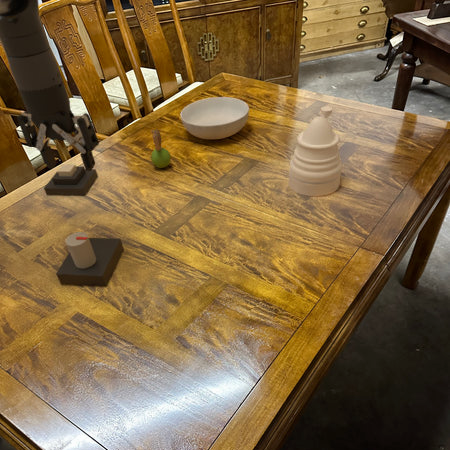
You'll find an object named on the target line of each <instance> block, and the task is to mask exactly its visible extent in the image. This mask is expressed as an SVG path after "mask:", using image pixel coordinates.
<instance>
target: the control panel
mask: <svg viewBox="0 0 450 450" xmlns="http://www.w3.org/2000/svg"><path fill="white" fill-rule="evenodd" d="M88 238H89V241H90V243H91V246H92V248H93V251H94V254H95V256H96V262H95V264H94V265H92V266H91V267H88V268H84V269H81V268H78V267H76V265H75V263H74V261H73V259H72V256H71V254H70V252H69V251H68V253H67V255H66V256H65V258H64V260H63V261H62V262H61V265H60V266H59V268H58V269H57V271H56V273H55V275H56V277H57V279H58V281H59V283H60V285H66V286H67V285H69V286H85V287H86V286H87V287H107V286H108V283H109V281H110V280H111V278H112V276H113V273H114V271H115V269H116V267H117V265H118V263H119V262H120V258H121V256H122V254H123V252H124V250H125V248H124V246H123V242H122V238H114V237H113V238H110V237H109V238H108V237H88Z"/></svg>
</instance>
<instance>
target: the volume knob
mask: <svg viewBox="0 0 450 450" xmlns="http://www.w3.org/2000/svg"><path fill="white" fill-rule="evenodd" d="M89 238H90V237H89V235H88V234H87V233H86V232H85V231H84V232H83V231H77V232H74V233H71V234H69V235H68V236H67V237H65V241H64V242H65V245H66V247H67V250H68V253H69V252H70V254H71V256H72V259H73V261H74V263H75V265H76V267H78V268H81V269H84V268H88V267H91V266H92V265H94V264H95V262H96V256H95V254H94V251H93V248H92V246H91V243H90V241H89Z"/></svg>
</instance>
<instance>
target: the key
mask: <svg viewBox="0 0 450 450" xmlns="http://www.w3.org/2000/svg"><path fill="white" fill-rule="evenodd" d="M76 171H77V168H76V164H62V165H61V166H60V167H59V168H58V170H57V171H56V172H58V174H59V177H72V176H73V175H74V174H75V172H76Z"/></svg>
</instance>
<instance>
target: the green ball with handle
mask: <svg viewBox="0 0 450 450" xmlns="http://www.w3.org/2000/svg"><path fill="white" fill-rule="evenodd" d="M151 134H152V140H153V144H154V149H153V150H152V153H151V154H150V160H151V163H152V164H153V165H154V166H155V167H156V168H159V169H165V168H167V167H168V166H169V165H170V163H171V161H172V157H171V153H170V151H168V149H167V148H164V147H162V135H161V132H160V130H159V129H155V130H151Z"/></svg>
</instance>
